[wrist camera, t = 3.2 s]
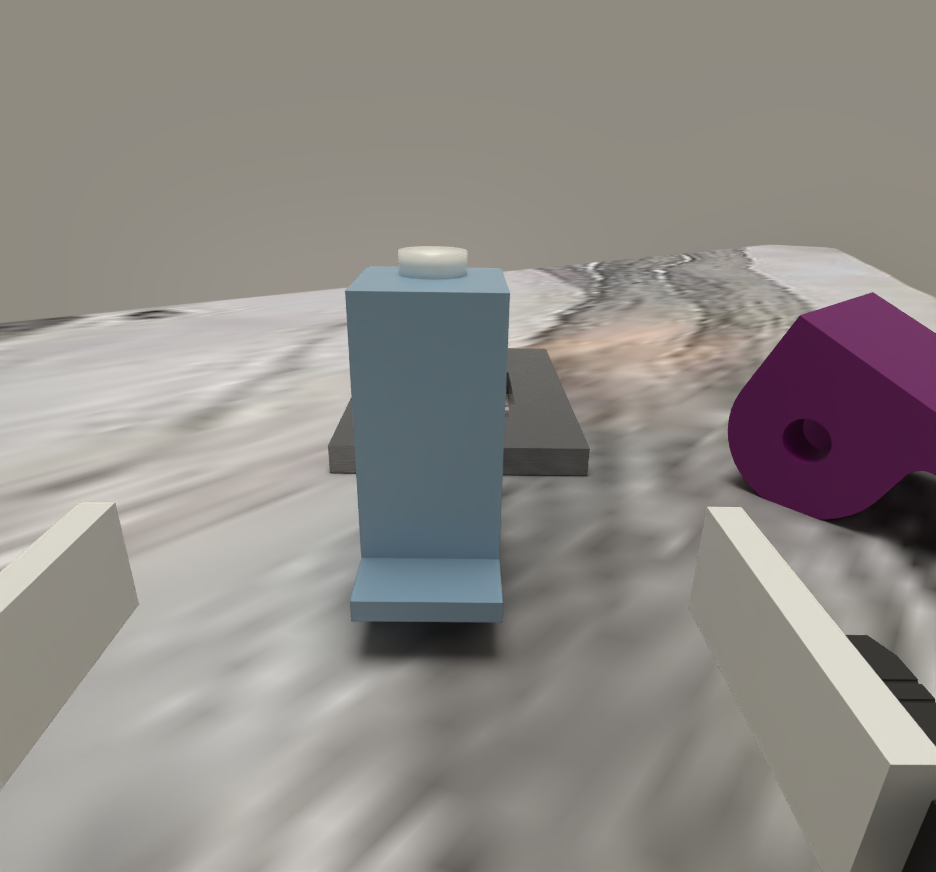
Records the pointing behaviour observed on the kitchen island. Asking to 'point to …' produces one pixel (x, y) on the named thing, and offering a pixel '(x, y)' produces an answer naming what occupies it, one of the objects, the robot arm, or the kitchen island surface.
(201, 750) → the kitchen island surface
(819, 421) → the mounting bracket
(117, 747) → the kitchen island surface
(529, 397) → the plate
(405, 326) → the block
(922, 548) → the kitchen island surface
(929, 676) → the kitchen island surface
